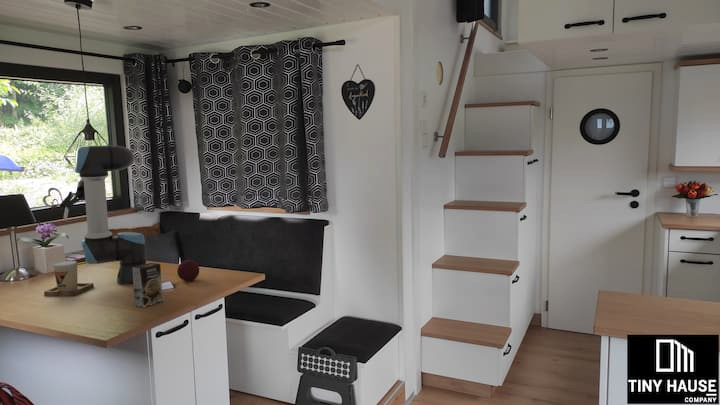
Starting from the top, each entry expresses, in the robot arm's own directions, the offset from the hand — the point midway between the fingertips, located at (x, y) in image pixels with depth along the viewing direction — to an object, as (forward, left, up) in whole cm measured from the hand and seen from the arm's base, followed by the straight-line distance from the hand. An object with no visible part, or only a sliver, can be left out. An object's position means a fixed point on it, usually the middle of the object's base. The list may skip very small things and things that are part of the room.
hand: (80, 218), depth 262 cm
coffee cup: (-8, +25, -29) cm, 39 cm away
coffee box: (-55, +39, -30) cm, 74 cm away
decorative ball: (-56, +4, -30) cm, 64 cm away
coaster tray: (-9, +24, -29) cm, 39 cm away
